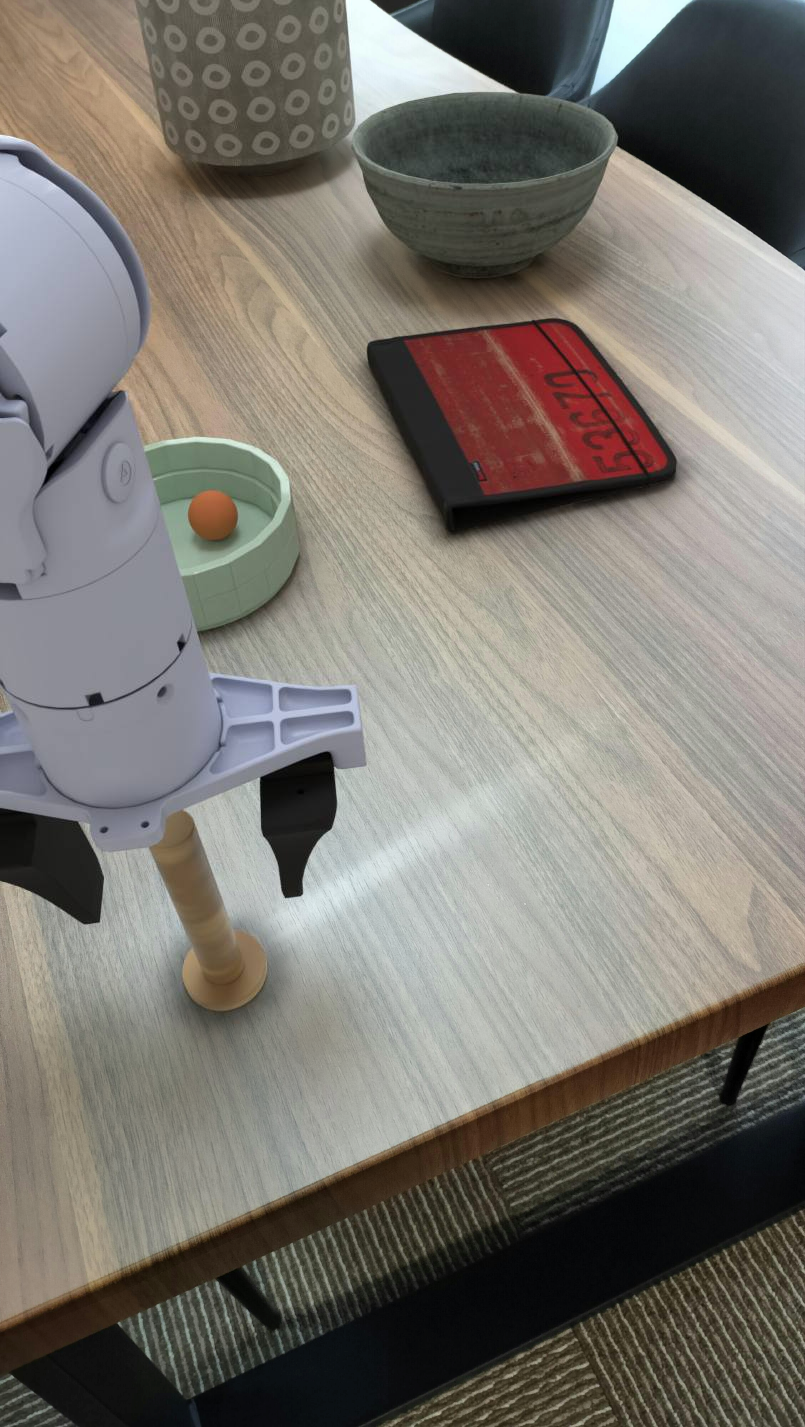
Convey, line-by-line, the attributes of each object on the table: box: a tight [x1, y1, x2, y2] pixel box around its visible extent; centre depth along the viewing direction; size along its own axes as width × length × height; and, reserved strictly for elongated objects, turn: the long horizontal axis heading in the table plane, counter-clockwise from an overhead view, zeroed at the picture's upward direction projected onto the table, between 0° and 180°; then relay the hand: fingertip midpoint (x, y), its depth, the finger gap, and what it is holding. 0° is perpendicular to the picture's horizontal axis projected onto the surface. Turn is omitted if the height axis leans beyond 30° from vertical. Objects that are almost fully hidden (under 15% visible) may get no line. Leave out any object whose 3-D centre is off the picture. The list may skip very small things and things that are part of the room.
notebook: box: [366, 317, 678, 534], centre depth 70 cm, size 16×2×21 cm
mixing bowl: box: [143, 436, 301, 632], centre depth 61 cm, size 13×13×4 cm
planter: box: [134, 0, 356, 177], centre depth 97 cm, size 19×19×18 cm
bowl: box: [351, 91, 619, 279], centre depth 84 cm, size 21×21×10 cm
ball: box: [188, 490, 238, 540], centre depth 63 cm, size 3×3×3 cm
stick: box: [148, 809, 268, 1012], centre depth 41 cm, size 4×4×11 cm
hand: (193, 888), depth 39 cm, fingers open, 7 cm apart
